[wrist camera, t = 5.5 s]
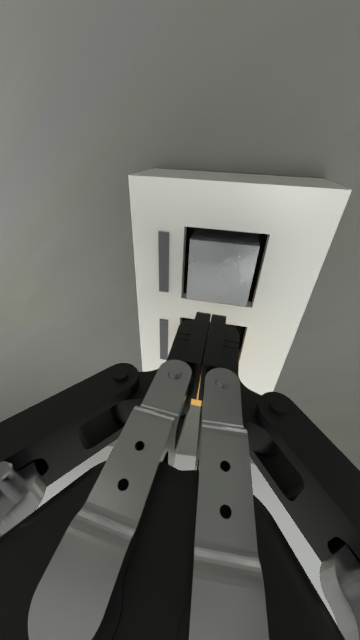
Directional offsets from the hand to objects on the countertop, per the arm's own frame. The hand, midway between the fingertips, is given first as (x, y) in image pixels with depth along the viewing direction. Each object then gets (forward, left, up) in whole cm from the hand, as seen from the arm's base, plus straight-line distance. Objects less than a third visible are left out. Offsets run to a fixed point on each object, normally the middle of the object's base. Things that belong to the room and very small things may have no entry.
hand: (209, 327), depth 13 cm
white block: (0, 0, -11) cm, 12 cm away
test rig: (+4, 0, -14) cm, 15 cm away
